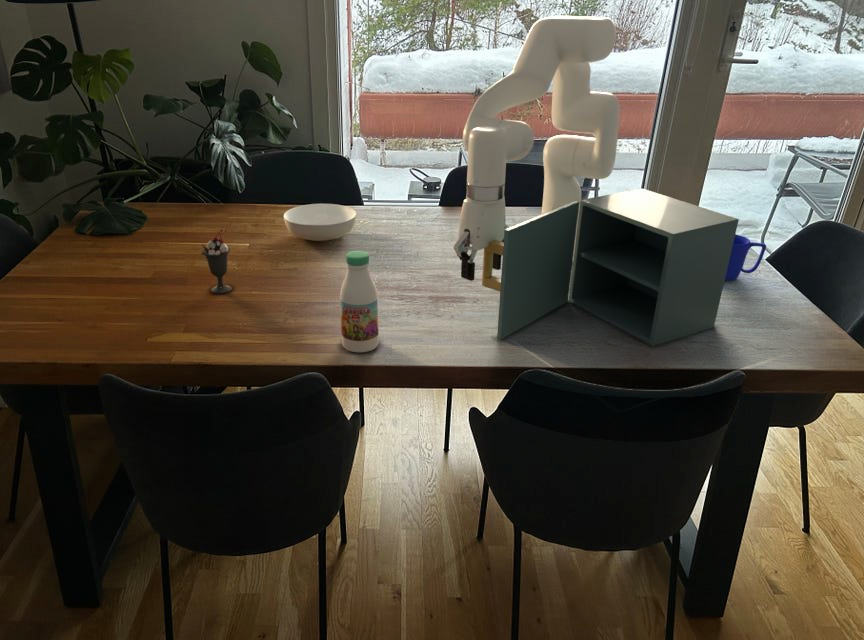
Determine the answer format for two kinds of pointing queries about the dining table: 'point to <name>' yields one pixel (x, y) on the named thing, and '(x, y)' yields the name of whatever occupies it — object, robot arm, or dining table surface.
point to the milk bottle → (359, 305)
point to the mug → (741, 257)
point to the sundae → (217, 262)
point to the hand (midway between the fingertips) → (480, 273)
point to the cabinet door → (532, 267)
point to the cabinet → (651, 263)
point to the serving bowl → (320, 221)
